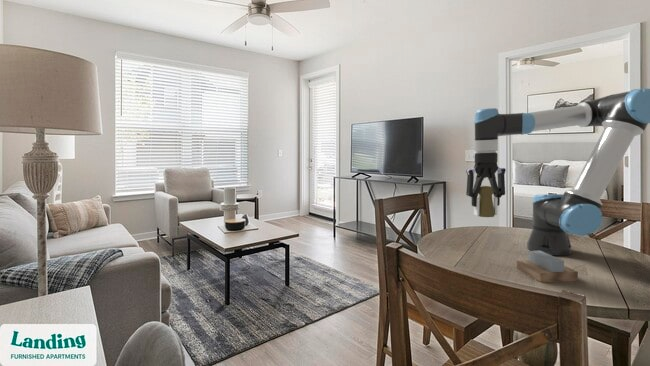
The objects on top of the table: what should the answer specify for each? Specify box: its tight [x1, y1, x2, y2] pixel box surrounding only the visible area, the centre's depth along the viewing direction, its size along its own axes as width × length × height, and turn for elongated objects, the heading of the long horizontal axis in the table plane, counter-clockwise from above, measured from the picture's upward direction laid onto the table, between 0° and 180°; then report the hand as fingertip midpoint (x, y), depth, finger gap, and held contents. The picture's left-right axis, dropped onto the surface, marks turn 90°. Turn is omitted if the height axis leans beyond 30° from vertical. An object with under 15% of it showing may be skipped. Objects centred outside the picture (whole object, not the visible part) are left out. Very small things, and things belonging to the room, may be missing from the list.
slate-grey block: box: [528, 250, 565, 272], centre depth 109 cm, size 4×11×4 cm, turn 1°
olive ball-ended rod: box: [478, 185, 495, 218], centre depth 121 cm, size 6×6×11 cm
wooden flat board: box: [516, 259, 579, 283], centre depth 109 cm, size 12×12×4 cm
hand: (485, 214), depth 122 cm, fingers closed on olive ball-ended rod, 6 cm apart
